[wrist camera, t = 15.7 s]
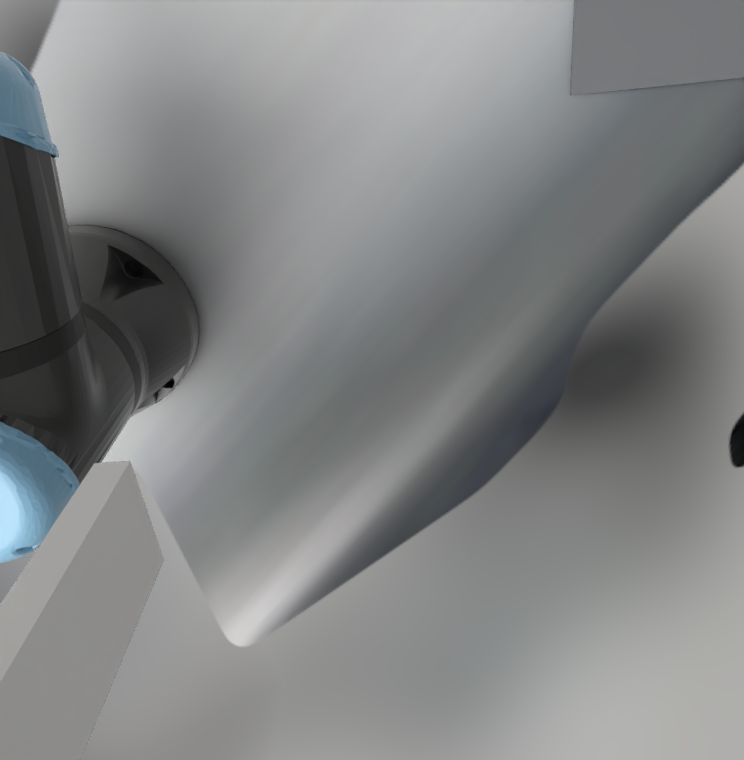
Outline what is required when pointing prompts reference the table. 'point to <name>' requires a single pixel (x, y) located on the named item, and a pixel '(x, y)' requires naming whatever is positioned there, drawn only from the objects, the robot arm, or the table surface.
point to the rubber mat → (655, 43)
